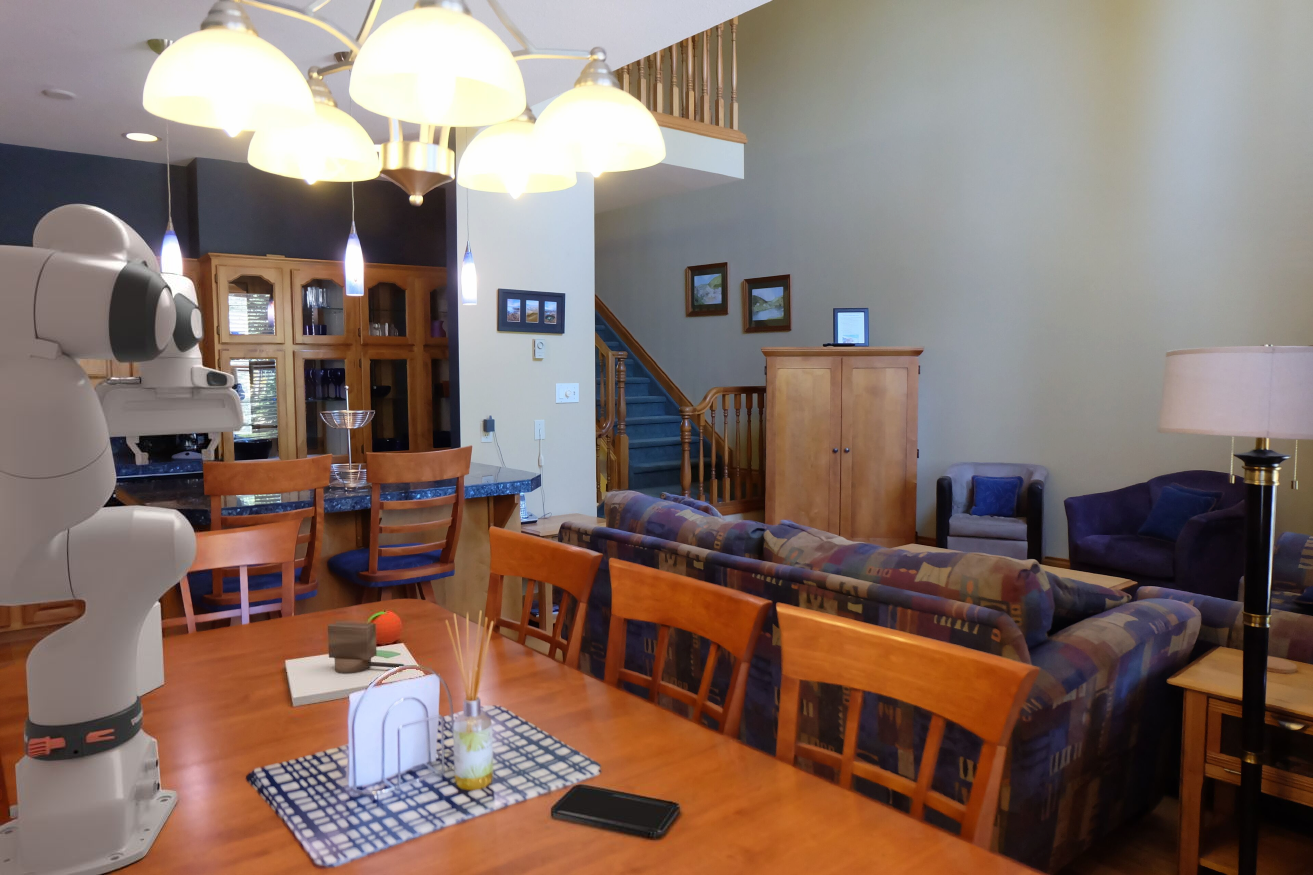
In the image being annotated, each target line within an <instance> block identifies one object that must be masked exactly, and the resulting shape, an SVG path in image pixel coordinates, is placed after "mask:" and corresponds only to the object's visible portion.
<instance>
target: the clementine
mask: <svg viewBox="0 0 1313 875" xmlns="http://www.w3.org/2000/svg"><path fill="white" fill-rule="evenodd" d="M366 623H376V645H381V646H387V645H386V644H388V645H392V644H393V643H394V642H395V641H397V640H398V639H399V638H400V636H401V634H402V631H403V623H402V620H401V618H400V617H399V615H397V614H396V613H394V612H393V611H389V610H383V611H379V612H377V613H374V614H373V615H372V616H370V617H369V618H368V620H367V622H366Z"/></svg>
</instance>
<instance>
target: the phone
mask: <svg viewBox="0 0 1313 875" xmlns="http://www.w3.org/2000/svg"><path fill="white" fill-rule="evenodd" d="M680 810H681V807H680V804H679V803H678V802H675V801H672V800H671V801H670V800H666V799H660V798H656V797H650V796H644V795H640V794H635V793H631V792H630V793H629V792H625V791H619V790H614V789H609V788H605V787H599V786H594V785H589V784H584V783H581V784H576V785H573V786H572V787H571V788H569V790H568V791H567V792H566V793H564V795H562V796H561V798H559V799H558V800H557V801H556V802H555V803H554V804H553V805H552V806H551V808H550V816H551V817H552V818H553V819H556V820H561V821H565V822H569V823H574V824H578V825H584V826H588V827H593V828H598V829H603V830H607V831H611V832H616V833H621V834H626V835H629V836H630V835H631V836H635V837H640V838H645V839H648V840H657V839H658V840H659V839H661V838H662V837H663V836H664V835H665V833H666V832H667V831H668V829H669V828H671V827H670V826H672V824H673V823H674V821H675V820H676V819H677V818H678V817H679V815H680V812H681V811H680Z"/></svg>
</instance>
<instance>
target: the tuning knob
mask: <svg viewBox="0 0 1313 875" xmlns="http://www.w3.org/2000/svg"><path fill="white" fill-rule="evenodd" d="M327 640H328V641H327V642H328V643H327V644H328V646H327V647H328V654H329V658H334V660H335V670H336V671H337V672H341V673H352V672H358V671H362V670H365V669H368V668H369V667H371V666H378V667H392V668H396V667H399V666H404V664H396V663H381V662H371V658H372V657H374V656H376V655H377V651H376V647H377V643H376V623H369V622H368V623H367V622H357V621H341V620H339V621H338V620H337V621H335V622H333V623H330V624H328V625H327Z"/></svg>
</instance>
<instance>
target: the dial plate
mask: <svg viewBox="0 0 1313 875" xmlns="http://www.w3.org/2000/svg"><path fill="white" fill-rule="evenodd" d="M376 651H377V655H376V656H374V657H372V658H371V662H381V663H396V664H404V665H417V666H419V664H418V663H417V661H416V660H415V658H414V657H413V655H412V654H411V653H410V651H409V649H408V648H407V647H406V645H405V643H403V642H402V643H396V644H388V645H381V646H376ZM284 661H285V662H284V663H285V665H284V666H285V673H286V672H287V673H286V677H287V681H288V682H287V683H288V687H289V692H290V697H291V701H292V707H299V706H305V705H309V704H310V705H311V704H316V703H323V702H327V701H328V702H329V701H334V700H340V699H346V698H349V697H348V695H349V694H350V693H353V692H356V691H361V690H364V689H365V688H367V687H368V686H369V684H370V683H371V682H373V681H374V680H375V679H376V678H377V677H379V676H380V675H382V674H383V673H384V672H386V671H388V670H390V669H392V667H378V666H371V667H369V668H368V669H365V670H362V671H358V672H352V673H341V672H337V671H336V670H335V660H334V658H329V653H327V654H320V655H311V656H307V657H300V658H299V657H297V658H293V659H285V660H284ZM423 675H425V676H426V674H425V673H424V672H423V670H422V671H420V670H416V669H406V670H402V671H400V672H397V673H396V674H394V675H391V676H389V677H388V678H387V679H385V680H383V681H382V683H390V682H395V681H401V680H405V679H409V678H416V677H419V676H423Z"/></svg>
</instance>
